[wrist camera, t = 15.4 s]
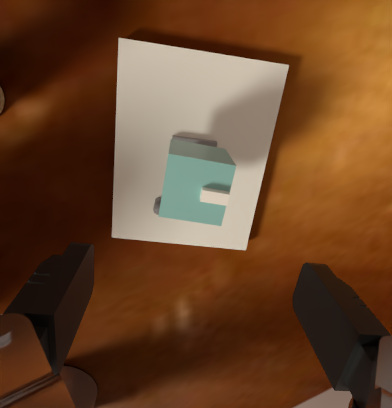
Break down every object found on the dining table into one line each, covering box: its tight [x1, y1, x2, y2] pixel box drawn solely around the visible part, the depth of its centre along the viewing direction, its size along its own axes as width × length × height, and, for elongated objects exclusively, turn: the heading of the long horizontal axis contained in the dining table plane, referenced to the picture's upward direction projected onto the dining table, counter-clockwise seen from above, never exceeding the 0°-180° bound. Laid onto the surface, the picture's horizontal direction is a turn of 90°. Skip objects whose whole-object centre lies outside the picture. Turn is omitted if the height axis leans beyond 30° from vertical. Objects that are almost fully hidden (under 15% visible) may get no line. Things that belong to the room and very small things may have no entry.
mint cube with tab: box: [158, 139, 236, 226], centre depth 22 cm, size 4×4×6 cm
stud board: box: [112, 38, 289, 250], centre depth 27 cm, size 18×14×5 cm
